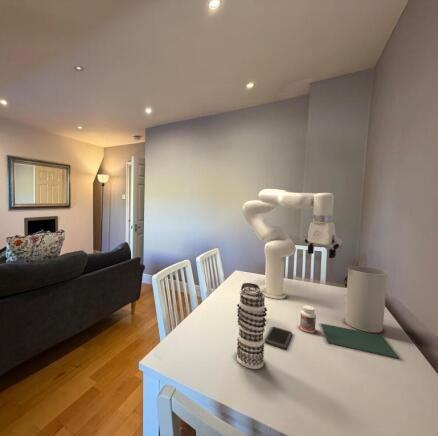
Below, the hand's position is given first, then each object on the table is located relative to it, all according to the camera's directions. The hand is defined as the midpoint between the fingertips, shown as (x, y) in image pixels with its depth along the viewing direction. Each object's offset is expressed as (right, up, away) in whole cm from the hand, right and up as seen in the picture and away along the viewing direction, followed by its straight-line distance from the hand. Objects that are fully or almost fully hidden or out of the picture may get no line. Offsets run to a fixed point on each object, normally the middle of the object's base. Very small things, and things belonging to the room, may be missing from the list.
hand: (320, 255), depth 115 cm
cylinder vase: (+13, -30, -8) cm, 33 cm away
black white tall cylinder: (-47, -32, -31) cm, 64 cm away
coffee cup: (-34, -29, 0) cm, 44 cm away
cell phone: (-29, -30, -18) cm, 46 cm away
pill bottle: (-14, -30, -11) cm, 35 cm away
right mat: (+1, -30, -19) cm, 36 cm away
